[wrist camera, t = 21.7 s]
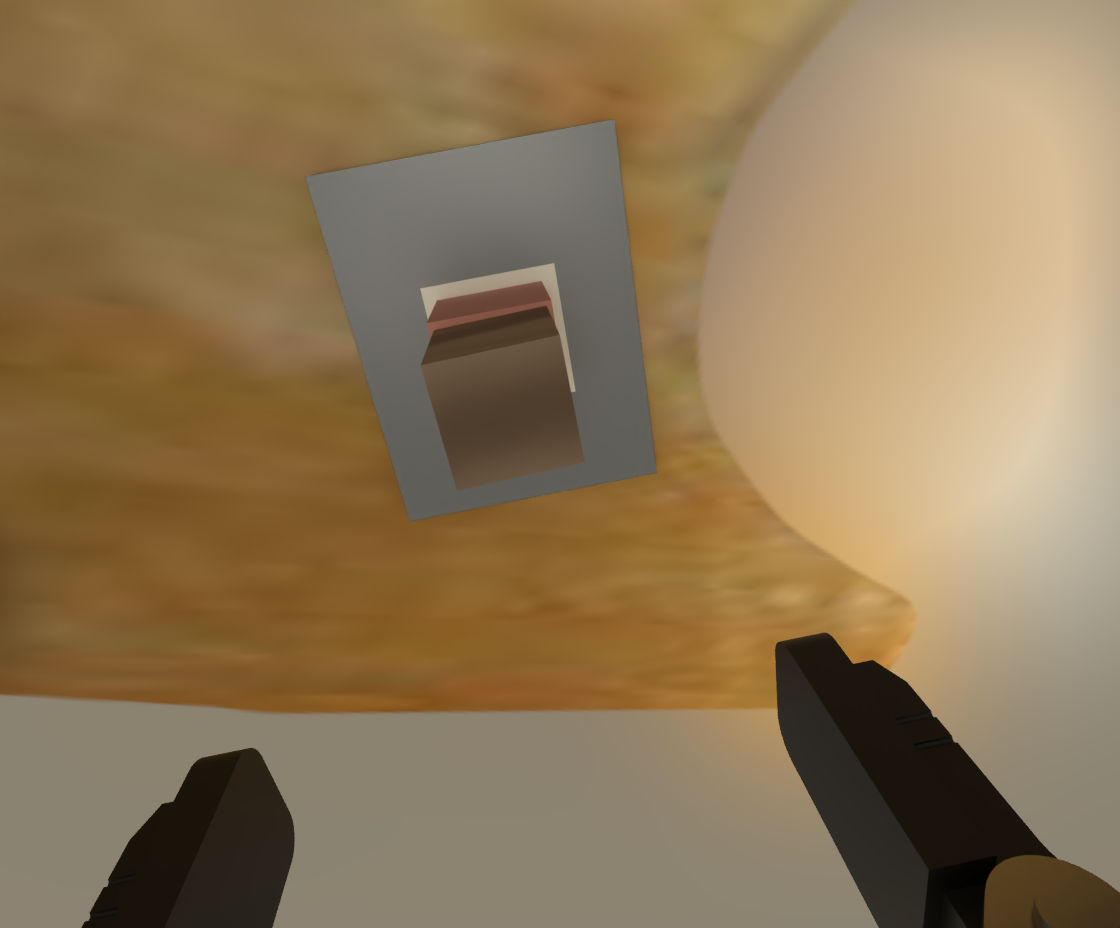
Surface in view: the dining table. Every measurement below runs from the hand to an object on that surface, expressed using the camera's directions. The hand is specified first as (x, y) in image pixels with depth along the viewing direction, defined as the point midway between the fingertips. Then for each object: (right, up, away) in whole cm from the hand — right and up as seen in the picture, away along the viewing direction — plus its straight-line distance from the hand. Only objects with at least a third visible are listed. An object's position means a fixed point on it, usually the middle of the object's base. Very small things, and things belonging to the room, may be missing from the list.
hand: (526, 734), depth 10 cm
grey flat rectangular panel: (-3, +11, +26) cm, 28 cm away
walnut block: (-2, +8, +19) cm, 21 cm away
